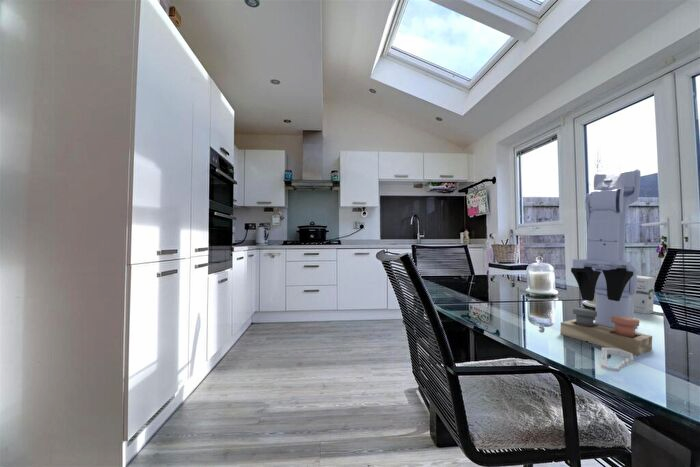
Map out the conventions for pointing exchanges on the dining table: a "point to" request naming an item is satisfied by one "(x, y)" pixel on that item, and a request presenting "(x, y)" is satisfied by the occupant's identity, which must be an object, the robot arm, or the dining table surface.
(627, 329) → the brick plug
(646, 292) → the ink box
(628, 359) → the stepped key frame
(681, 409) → the dining table surface
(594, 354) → the dining table surface
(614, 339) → the socket block
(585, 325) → the grey plug
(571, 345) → the dining table surface
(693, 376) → the dining table surface
